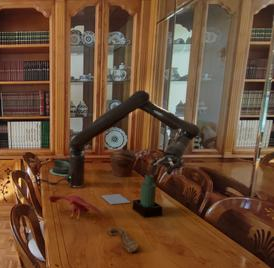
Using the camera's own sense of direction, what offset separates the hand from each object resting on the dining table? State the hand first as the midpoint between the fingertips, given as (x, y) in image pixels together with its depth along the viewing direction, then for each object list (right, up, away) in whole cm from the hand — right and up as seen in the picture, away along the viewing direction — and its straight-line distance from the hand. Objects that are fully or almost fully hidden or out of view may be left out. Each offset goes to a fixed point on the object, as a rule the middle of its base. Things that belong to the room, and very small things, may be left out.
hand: (159, 172), depth 114 cm
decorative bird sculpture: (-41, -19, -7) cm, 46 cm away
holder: (-7, -18, -3) cm, 20 cm away
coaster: (-17, -16, +12) cm, 27 cm away
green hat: (-39, -9, +60) cm, 72 cm away
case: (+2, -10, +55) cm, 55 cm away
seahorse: (-28, -22, -25) cm, 44 cm away
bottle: (-7, -18, -3) cm, 20 cm away
